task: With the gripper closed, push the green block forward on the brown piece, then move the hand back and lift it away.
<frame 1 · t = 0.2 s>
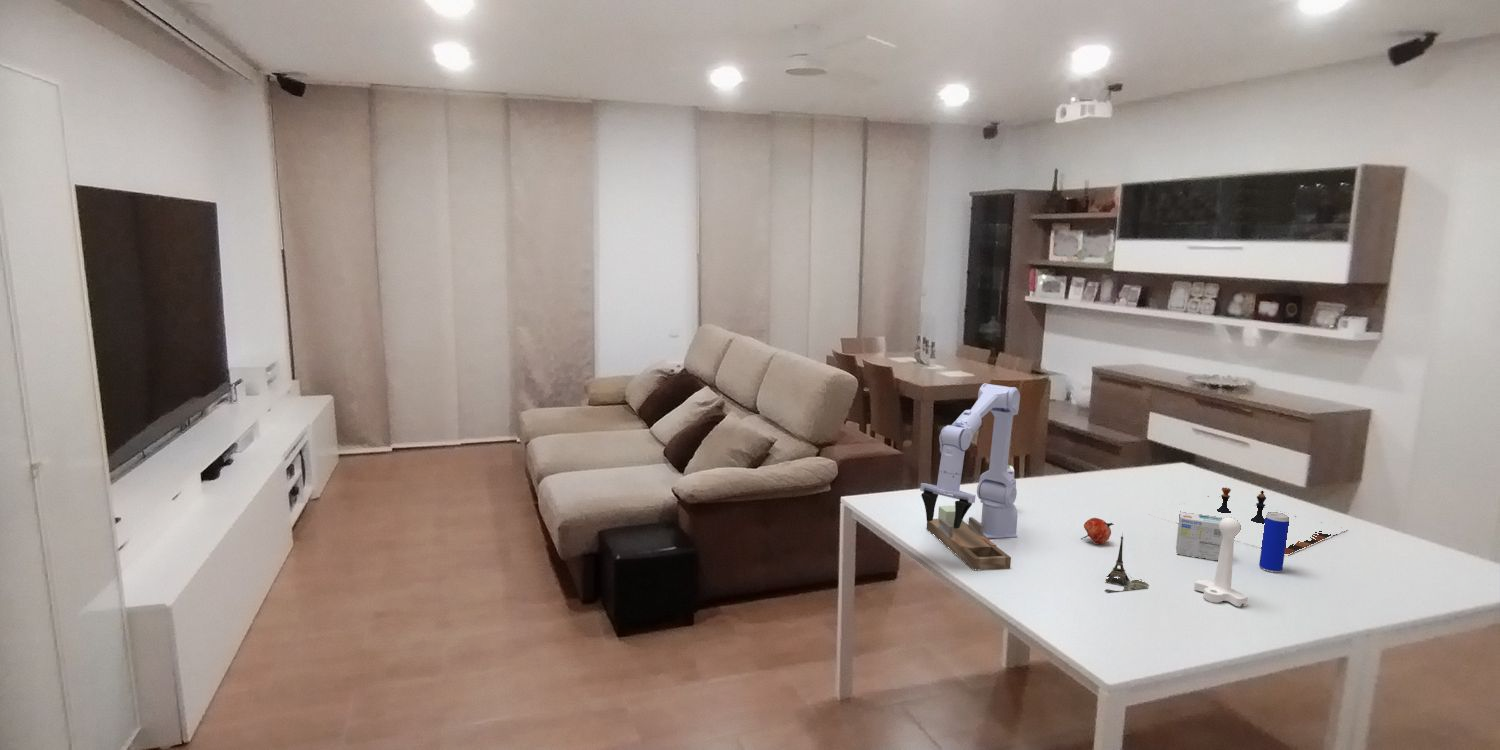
hand: (942, 524, 210), 11 cm above the table, tool pointing down, fingers open, 7 cm apart
green block: (949, 523, 233), point 3 cm above the table, touching brown piece
pomegranate: (1095, 543, 230), on the table
joystick: (1216, 599, 194), on the table
chessboard: (1244, 524, 250), on the table
syrup box: (1001, 512, 254), on the table
light bulb box: (1197, 555, 222), on the table
eiffel tower figurine: (1118, 585, 202), on the table
brown piece: (965, 547, 223), on the table
beverage can: (1270, 570, 213), on the table
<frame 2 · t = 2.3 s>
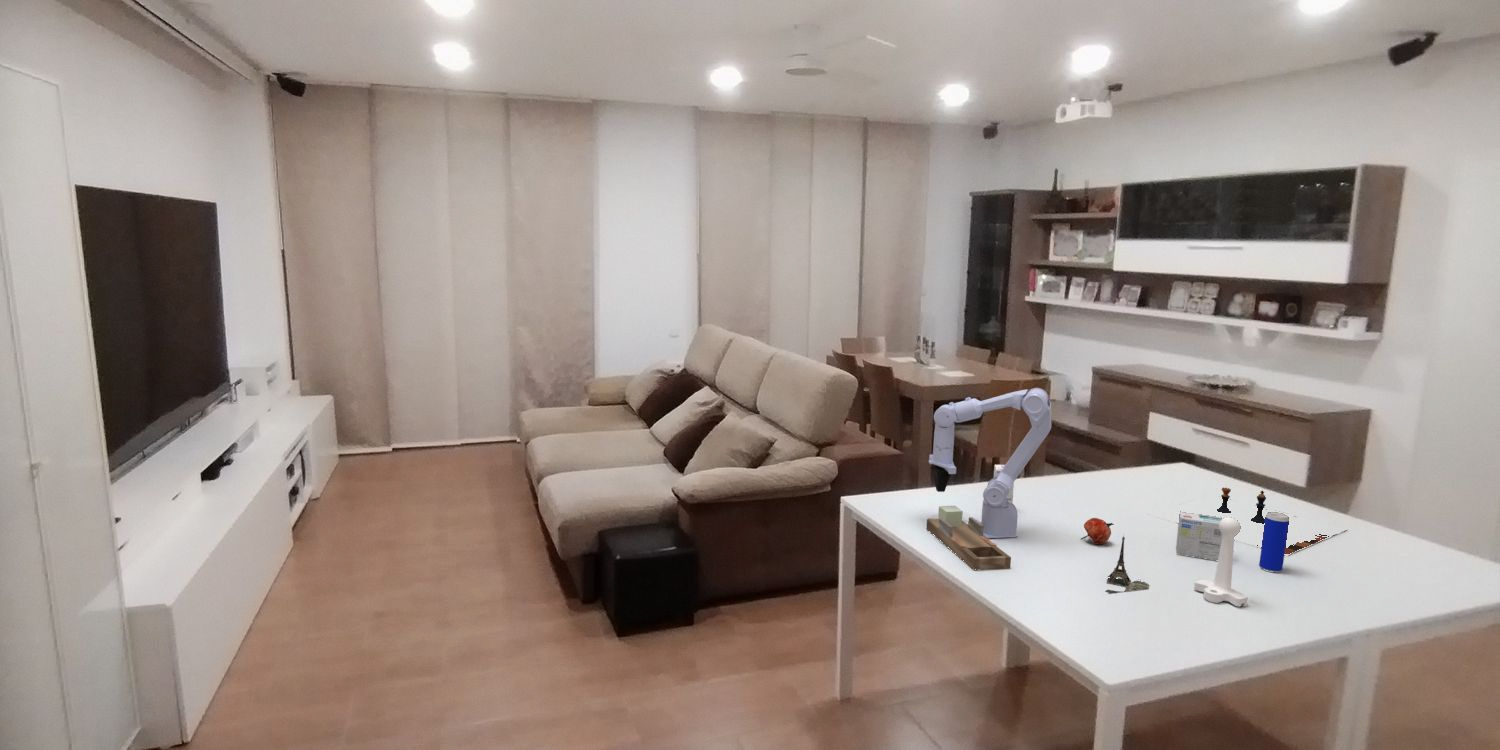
hand: (940, 491, 239), 10 cm above the table, tool pointing down, fingers closed
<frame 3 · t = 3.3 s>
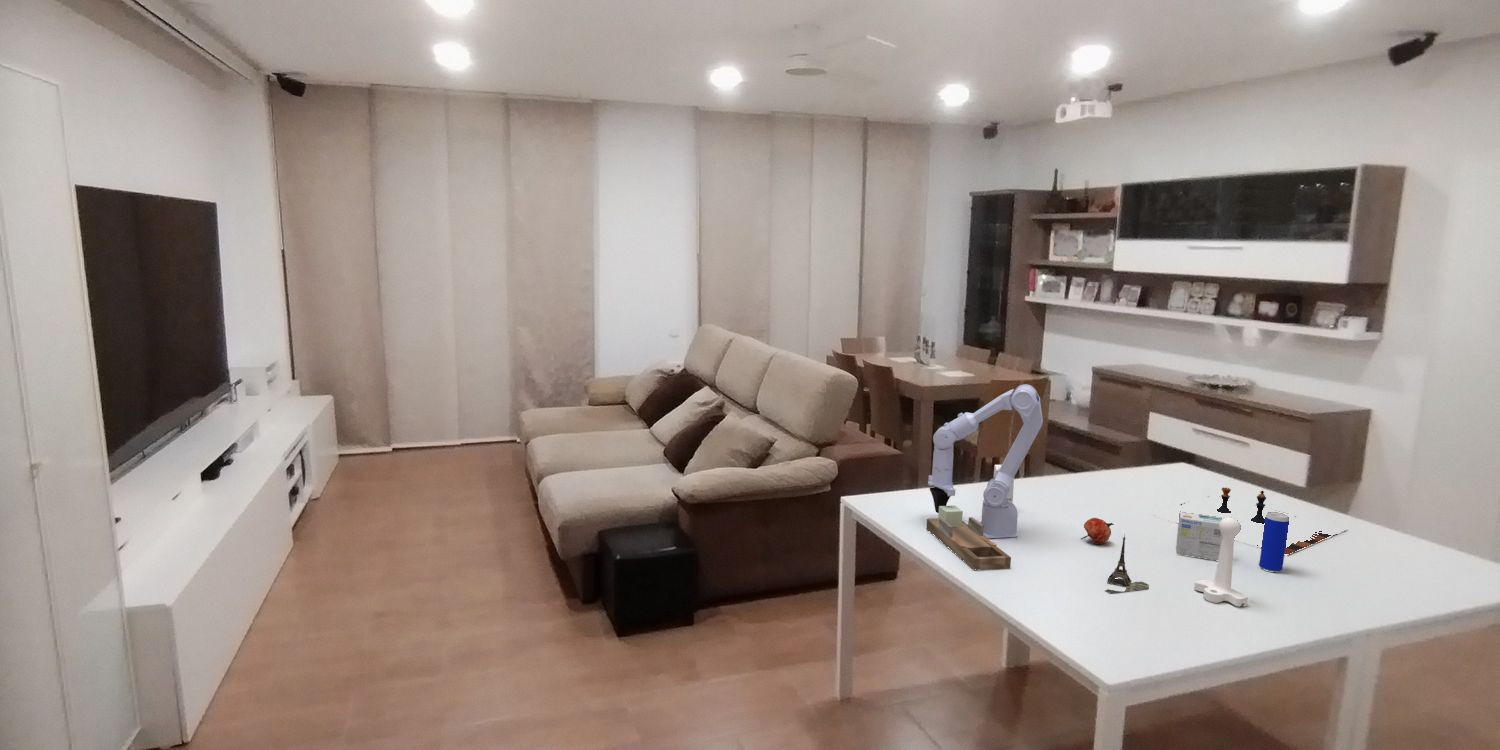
hand: (939, 512, 239), 4 cm above the table, tool pointing down, fingers closed
nothing on the table moved.
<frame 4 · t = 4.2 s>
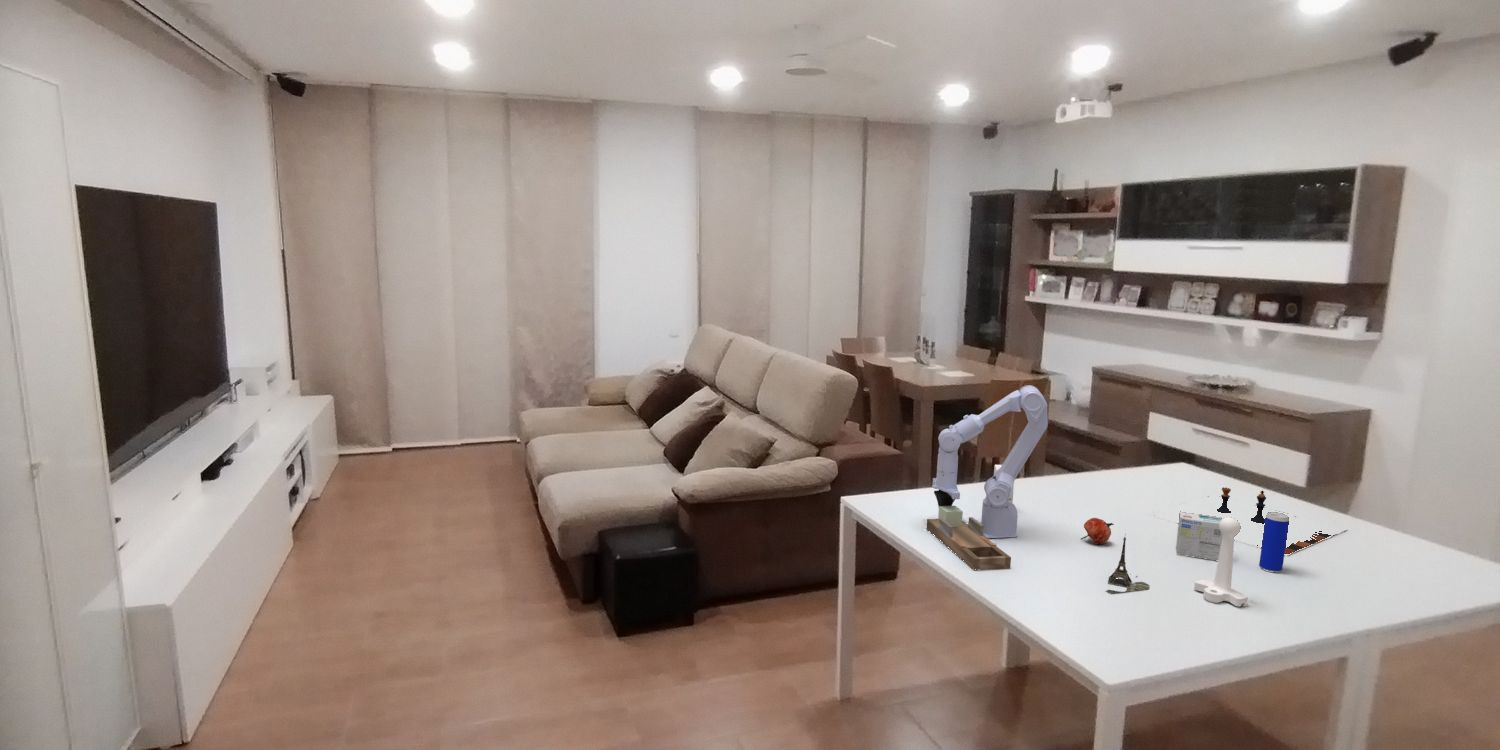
hand: (944, 515, 236), 4 cm above the table, tool pointing down, fingers closed
green block: (949, 523, 233), point 3 cm above the table, touching gripper, brown piece
everything else where it was.
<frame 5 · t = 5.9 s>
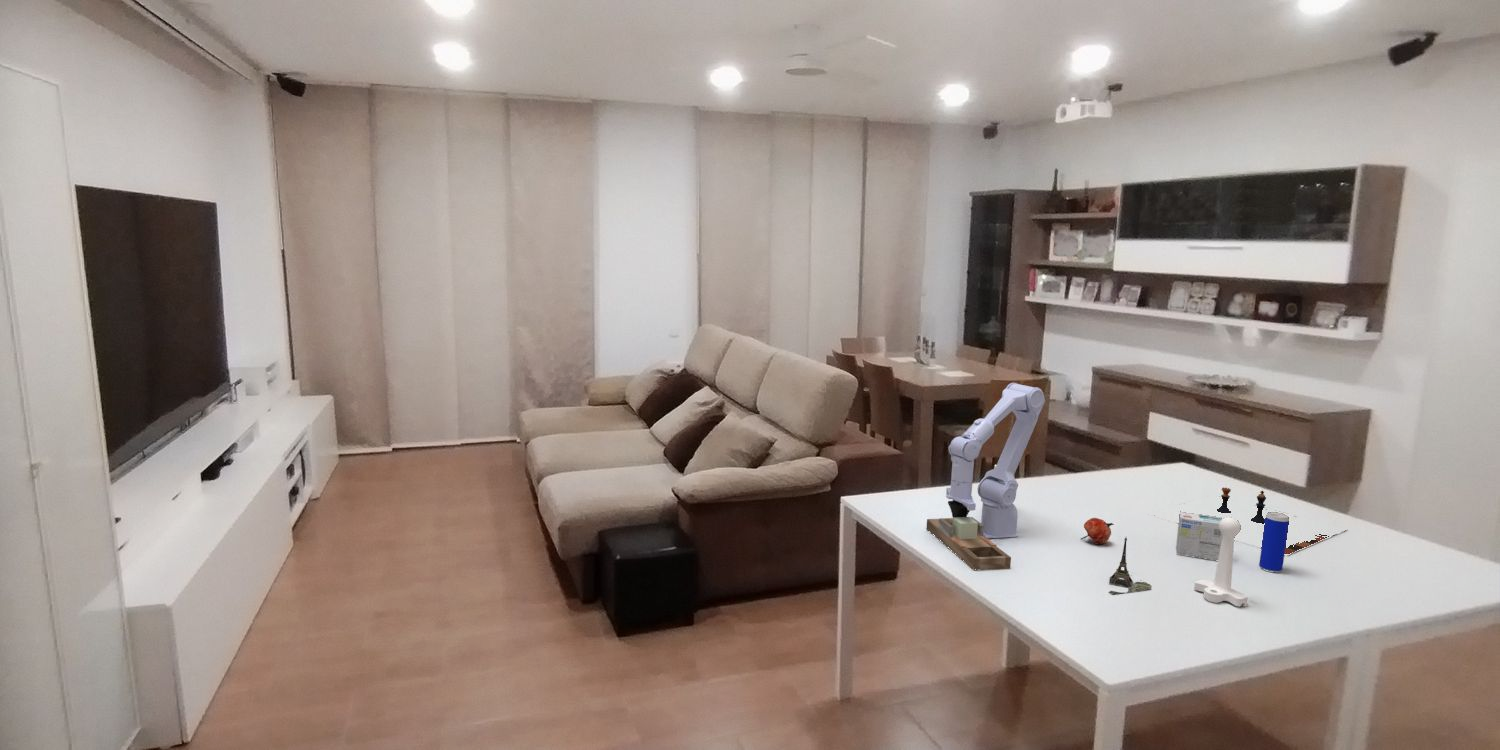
hand: (958, 527, 227), 4 cm above the table, tool pointing down, fingers closed
green block: (964, 535, 223), point 3 cm above the table, touching gripper
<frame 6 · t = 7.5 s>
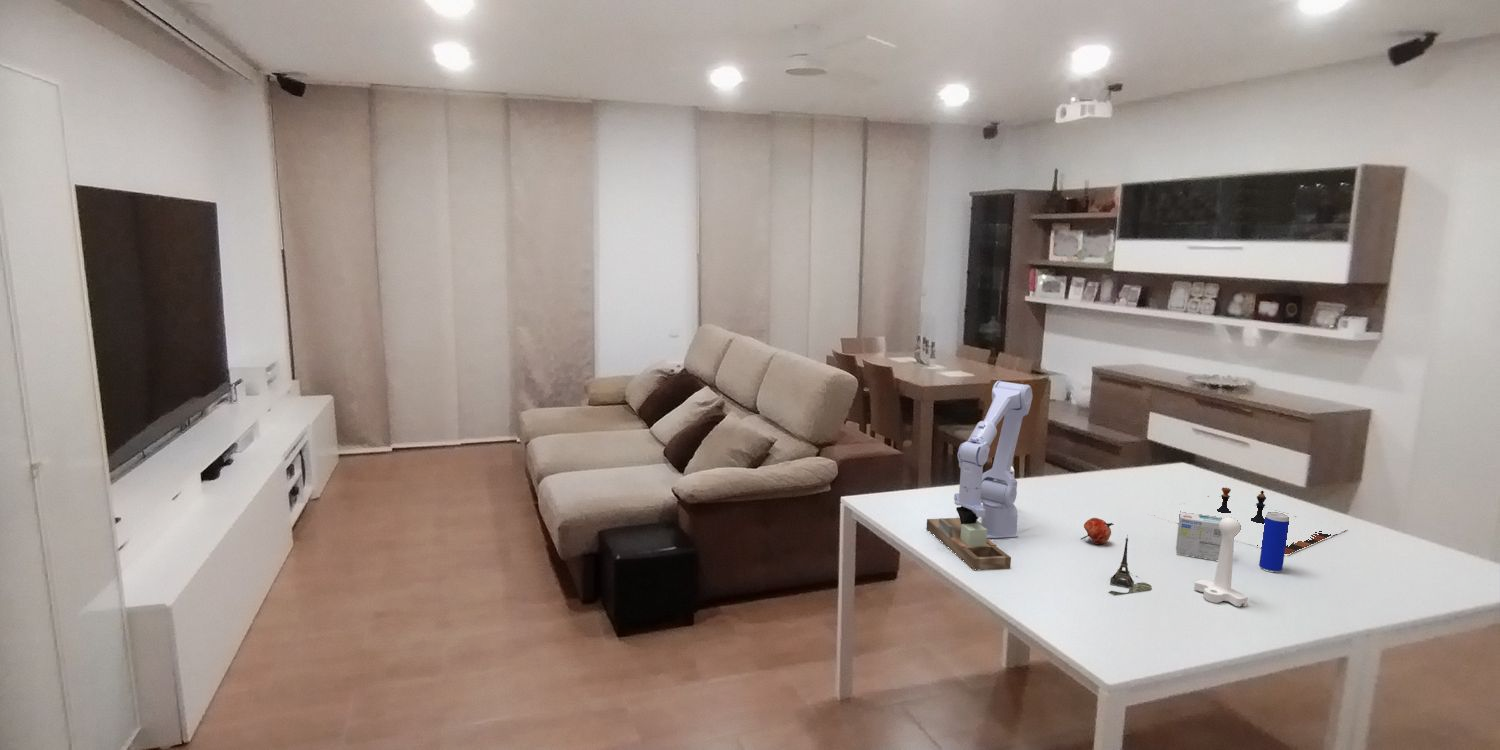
hand: (967, 533, 222), 4 cm above the table, tool pointing down, fingers closed
green block: (972, 542, 218), point 3 cm above the table, touching gripper, brown piece
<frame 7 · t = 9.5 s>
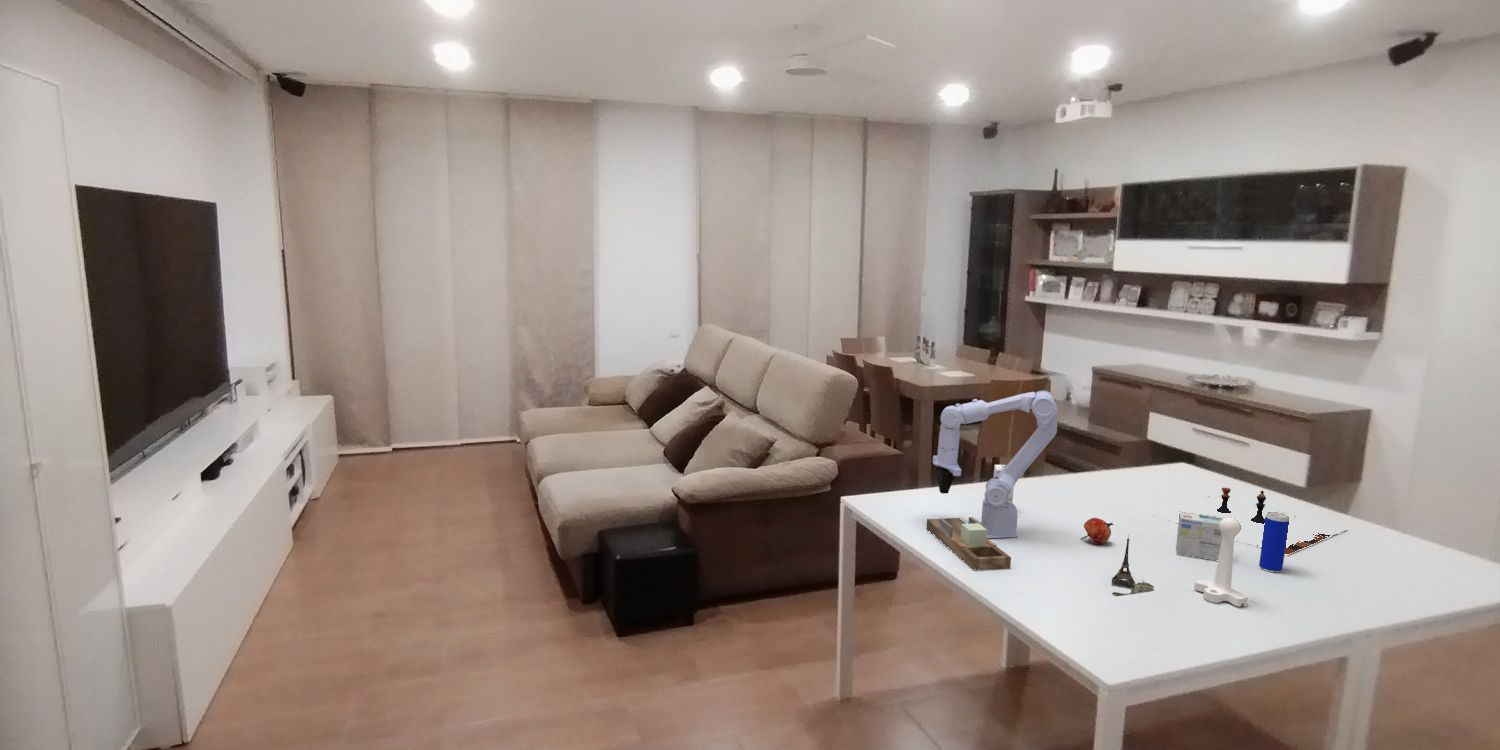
hand: (943, 492, 237), 10 cm above the table, tool pointing down, fingers closed
green block: (972, 542, 218), point 3 cm above the table, touching brown piece
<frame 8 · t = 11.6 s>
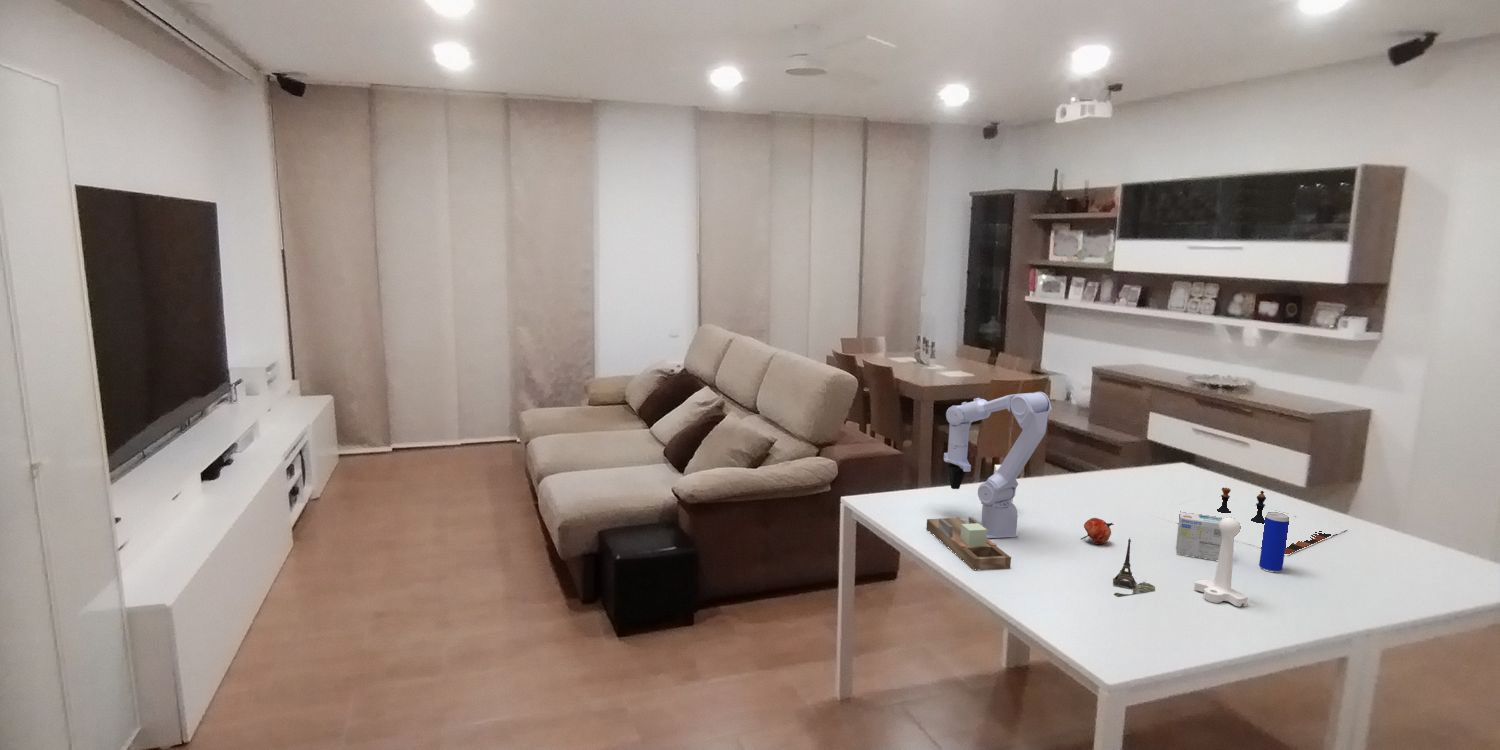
hand: (955, 488, 245), 9 cm above the table, tool pointing down, fingers closed
at the end: green block 0.2 cm from the target spot, point 3.0 cm above the table; green block tilted 0°; green block moved 15.1 cm from its start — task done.
